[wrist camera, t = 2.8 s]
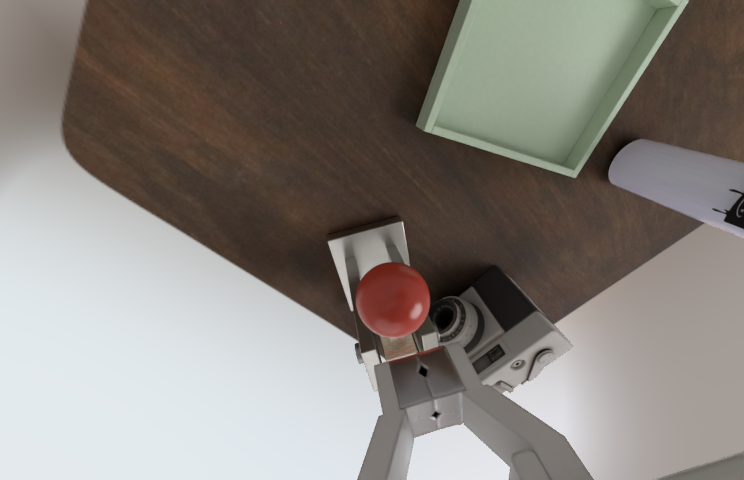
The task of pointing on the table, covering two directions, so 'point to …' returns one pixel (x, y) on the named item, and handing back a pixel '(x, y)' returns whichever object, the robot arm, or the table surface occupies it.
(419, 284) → the lever
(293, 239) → the table surface
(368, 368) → the bracket
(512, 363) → the camera
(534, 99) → the tray
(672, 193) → the perfume bottle
